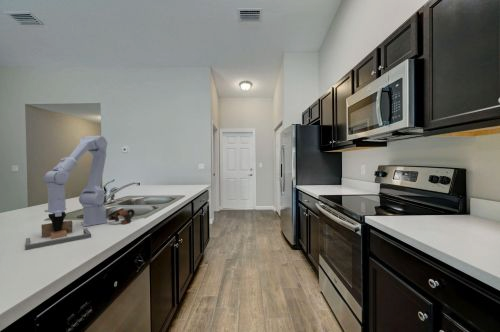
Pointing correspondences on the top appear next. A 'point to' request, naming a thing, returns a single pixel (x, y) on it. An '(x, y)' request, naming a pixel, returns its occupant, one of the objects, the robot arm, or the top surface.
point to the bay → (57, 240)
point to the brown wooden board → (49, 228)
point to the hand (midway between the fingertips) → (57, 230)
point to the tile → (58, 234)
